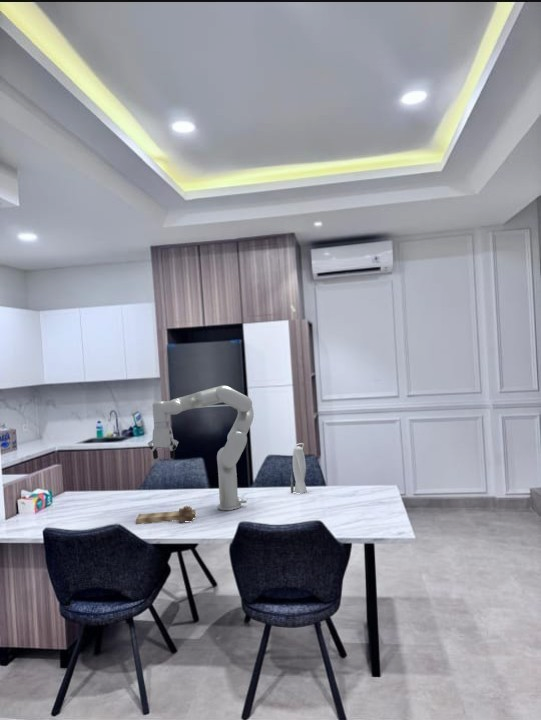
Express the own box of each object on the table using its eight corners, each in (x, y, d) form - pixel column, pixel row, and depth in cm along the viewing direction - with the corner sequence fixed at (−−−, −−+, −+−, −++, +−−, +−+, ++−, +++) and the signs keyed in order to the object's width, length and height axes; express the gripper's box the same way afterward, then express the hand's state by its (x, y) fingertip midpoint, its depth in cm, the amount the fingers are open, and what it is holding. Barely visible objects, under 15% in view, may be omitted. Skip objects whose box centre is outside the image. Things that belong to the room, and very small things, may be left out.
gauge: (193, 515, 243) (192, 501, 243) (192, 522, 232) (191, 507, 232) (181, 516, 243) (180, 502, 243) (179, 523, 232) (178, 508, 232)
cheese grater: (300, 490, 284) (298, 442, 285) (310, 492, 278) (307, 443, 278) (290, 493, 278) (287, 444, 279) (299, 495, 272) (296, 445, 273)
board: (195, 514, 245) (195, 509, 245) (194, 519, 237) (194, 514, 237) (139, 519, 242) (139, 514, 242) (136, 524, 234) (136, 518, 234)
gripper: (179, 423, 250) (182, 456, 250) (150, 425, 255) (153, 457, 255) (172, 425, 243) (175, 459, 243) (142, 427, 248) (145, 460, 248)
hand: (164, 458), depth 249 cm, fingers open, 9 cm apart
